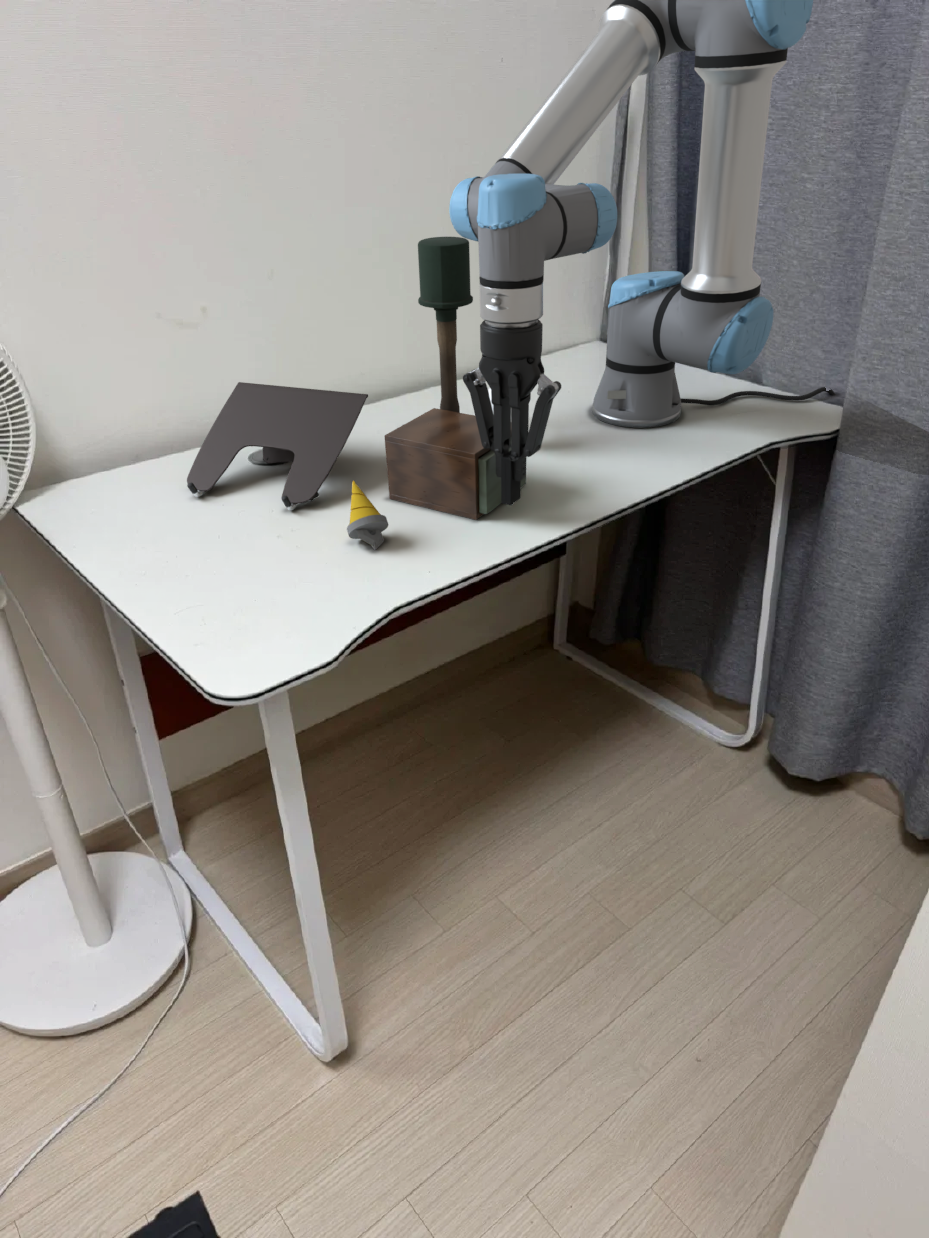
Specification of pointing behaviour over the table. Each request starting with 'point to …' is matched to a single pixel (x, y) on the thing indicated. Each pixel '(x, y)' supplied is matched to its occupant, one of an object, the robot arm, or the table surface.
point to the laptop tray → (279, 435)
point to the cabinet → (436, 462)
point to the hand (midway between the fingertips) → (510, 500)
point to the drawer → (489, 482)
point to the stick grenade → (445, 301)
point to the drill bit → (365, 519)
